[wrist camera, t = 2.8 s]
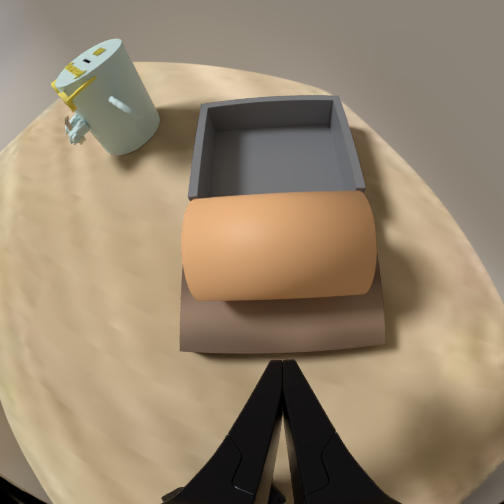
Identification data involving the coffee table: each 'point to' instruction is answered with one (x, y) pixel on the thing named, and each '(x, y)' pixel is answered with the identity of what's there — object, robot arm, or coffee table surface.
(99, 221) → the coffee table surface
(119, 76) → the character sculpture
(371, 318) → the board
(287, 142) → the tray
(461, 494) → the coffee table surface
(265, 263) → the roller
